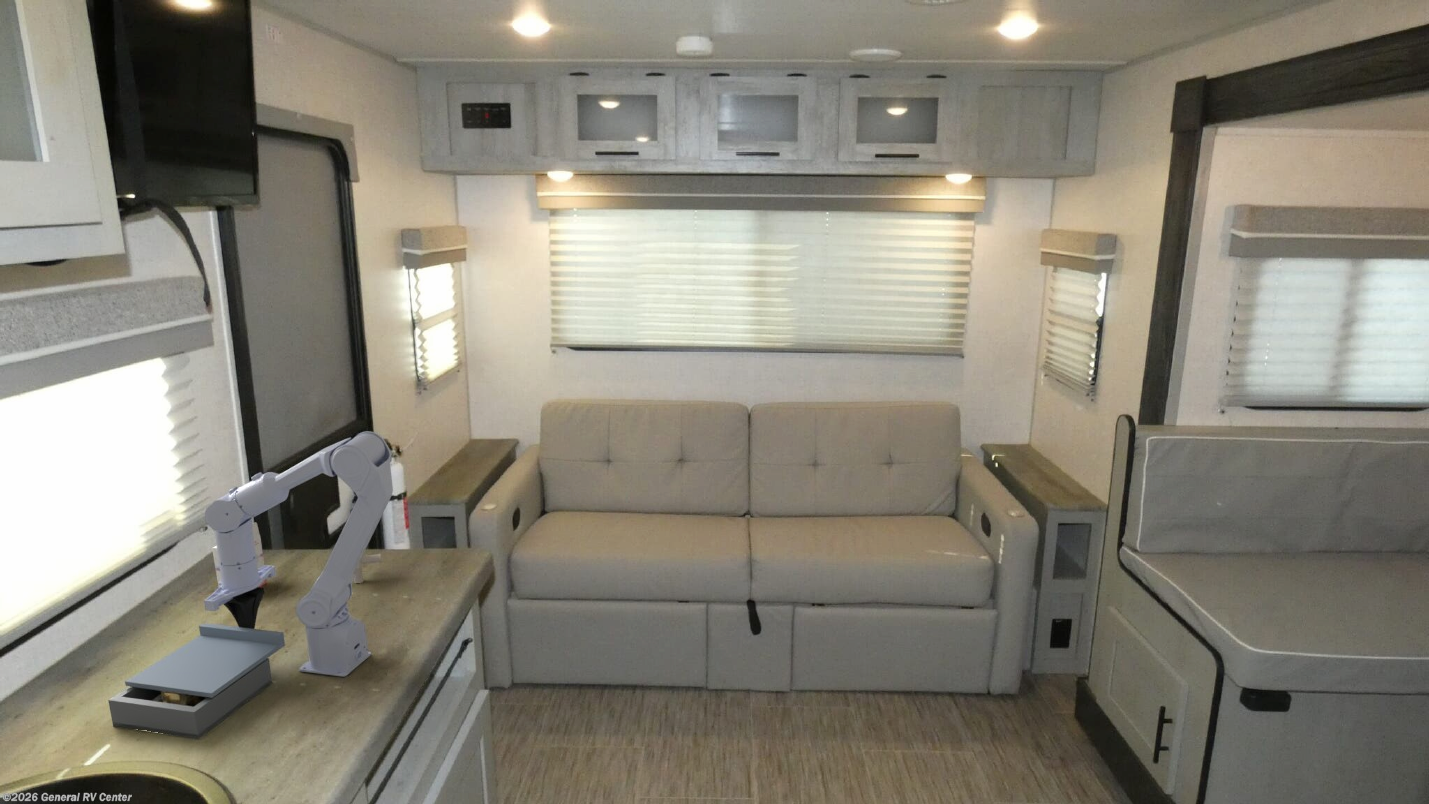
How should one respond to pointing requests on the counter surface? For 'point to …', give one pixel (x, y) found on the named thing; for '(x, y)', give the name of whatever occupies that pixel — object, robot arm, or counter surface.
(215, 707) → the housing
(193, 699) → the ribbed brass cylinder
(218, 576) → the ink cartridge box
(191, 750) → the counter surface
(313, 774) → the counter surface
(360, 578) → the pipe connector
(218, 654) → the lid
